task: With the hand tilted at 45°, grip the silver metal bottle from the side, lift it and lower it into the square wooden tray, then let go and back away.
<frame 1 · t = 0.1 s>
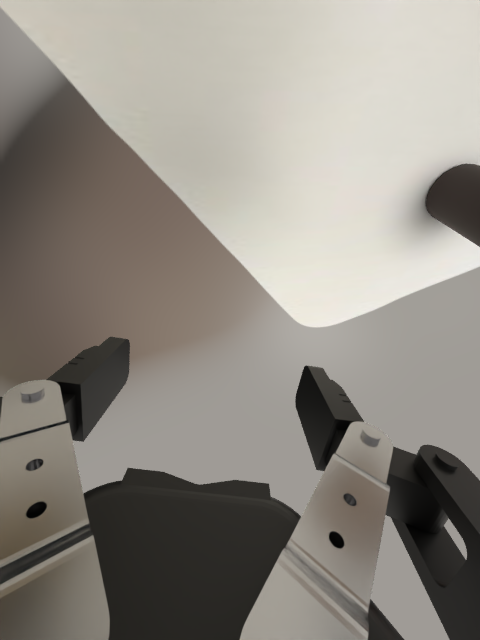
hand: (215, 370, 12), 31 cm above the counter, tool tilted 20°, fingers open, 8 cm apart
vinegar: (452, 191, 35), on the counter
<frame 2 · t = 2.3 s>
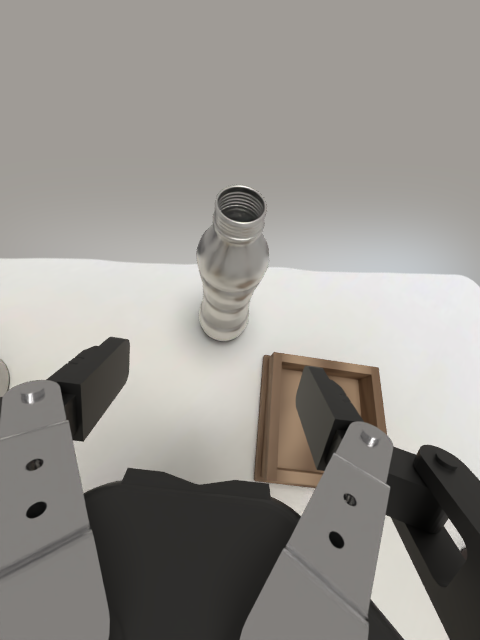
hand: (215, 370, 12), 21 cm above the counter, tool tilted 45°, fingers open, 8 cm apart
silver metal bottle: (222, 323, 35), on the counter
square wooden tray: (314, 419, 31), on the counter
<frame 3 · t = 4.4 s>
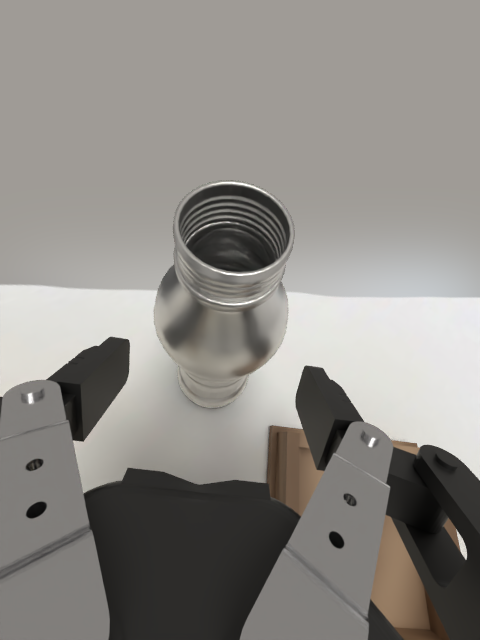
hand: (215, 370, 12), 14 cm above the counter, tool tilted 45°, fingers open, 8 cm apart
silver metal bottle: (212, 375, 26), on the counter
square wooden tray: (346, 525, 22), on the counter
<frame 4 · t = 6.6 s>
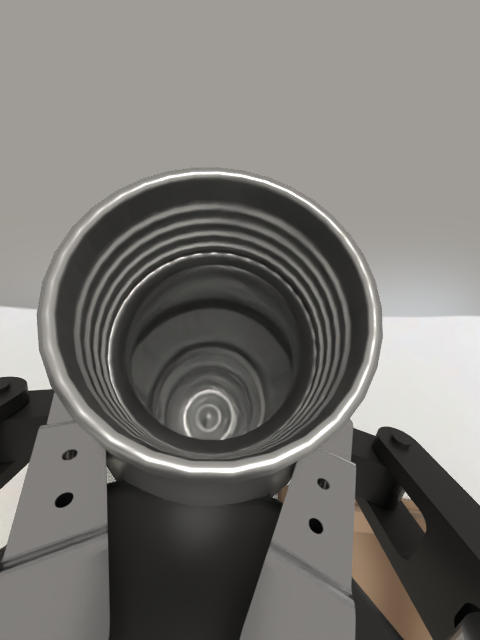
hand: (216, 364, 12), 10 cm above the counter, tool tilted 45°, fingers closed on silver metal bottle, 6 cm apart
silver metal bottle: (208, 418, 21), on the counter, touching gripper
square wooden tray: (378, 621, 17), on the counter
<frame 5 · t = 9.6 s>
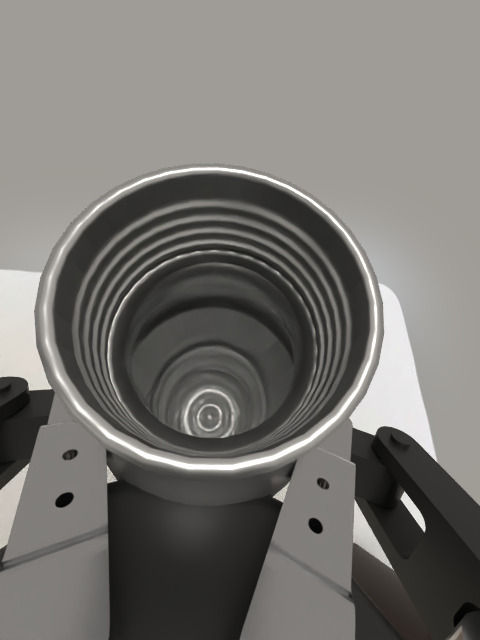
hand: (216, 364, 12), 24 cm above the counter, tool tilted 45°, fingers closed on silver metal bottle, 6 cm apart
silver metal bottle: (209, 417, 21), point 14 cm above the counter, touching gripper
vinegar: (345, 576, 29), on the counter
when the fingers open (13 cm above the counter, at t = 12.7 s): silver metal bottle drops 1 cm, resting on square wooden tray.
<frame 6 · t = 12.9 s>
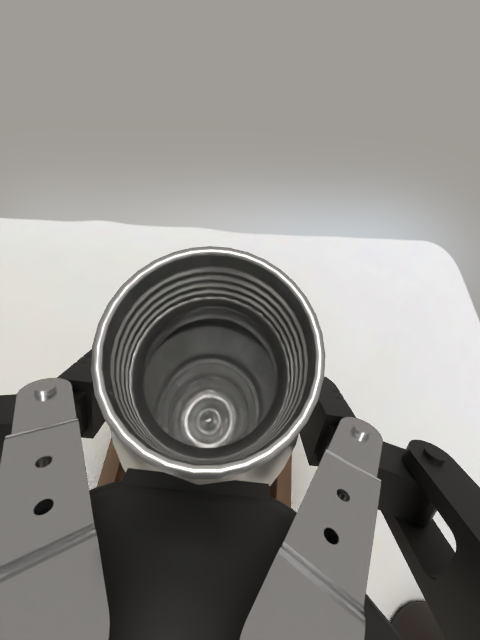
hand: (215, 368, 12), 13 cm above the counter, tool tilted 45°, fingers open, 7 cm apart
silver metal bottle: (208, 421, 22), point 1 cm above the counter, touching square wooden tray
square wooden tray: (207, 420, 23), on the counter
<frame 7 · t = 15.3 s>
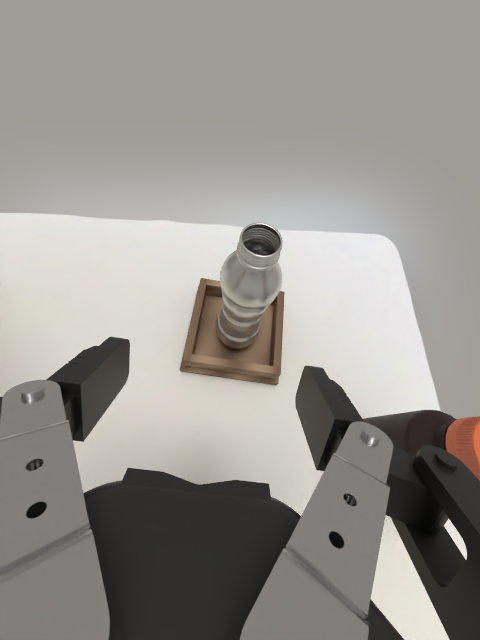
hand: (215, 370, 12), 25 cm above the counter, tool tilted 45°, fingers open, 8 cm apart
silver metal bottle: (236, 332, 39), point 1 cm above the counter, touching square wooden tray
square wooden tray: (235, 333, 40), on the counter
vinegar: (352, 447, 35), on the counter
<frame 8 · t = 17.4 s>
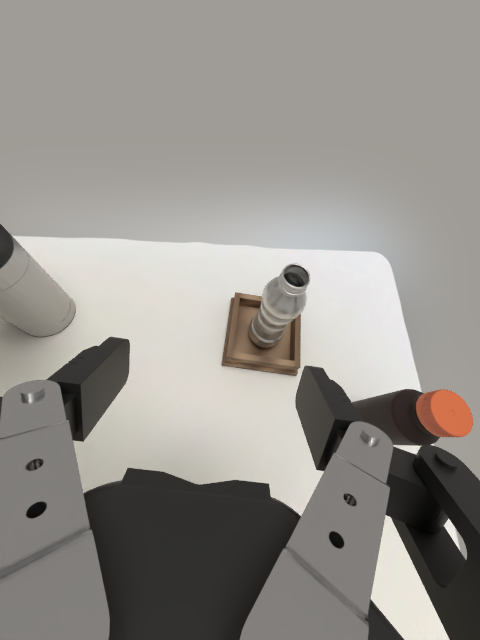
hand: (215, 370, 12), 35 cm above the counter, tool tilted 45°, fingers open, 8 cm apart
silver metal bottle: (263, 335, 50), point 1 cm above the counter, touching square wooden tray
square wooden tray: (261, 335, 51), on the counter
vinegar: (354, 422, 46), on the counter
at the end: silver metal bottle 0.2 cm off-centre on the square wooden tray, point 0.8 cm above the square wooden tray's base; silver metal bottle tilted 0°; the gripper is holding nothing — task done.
